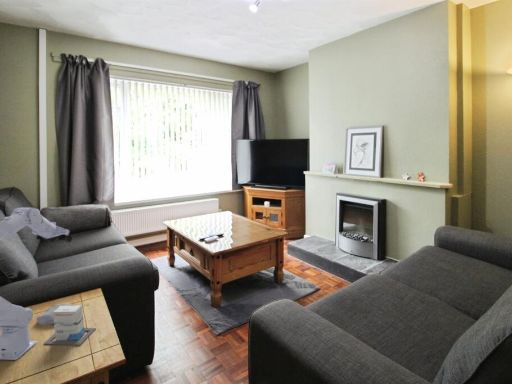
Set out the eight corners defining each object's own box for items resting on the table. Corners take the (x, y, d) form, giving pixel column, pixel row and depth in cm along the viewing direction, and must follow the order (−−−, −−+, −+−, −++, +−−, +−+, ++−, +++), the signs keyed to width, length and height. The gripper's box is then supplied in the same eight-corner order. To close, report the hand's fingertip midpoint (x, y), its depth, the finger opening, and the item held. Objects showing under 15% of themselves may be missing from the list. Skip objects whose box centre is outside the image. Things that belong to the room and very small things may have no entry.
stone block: (35, 329, 123) (58, 324, 123) (32, 318, 123) (55, 313, 122) (55, 314, 135) (76, 310, 135) (52, 304, 135) (73, 300, 134)
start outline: (80, 345, 110) (80, 344, 110) (43, 344, 111) (43, 343, 111) (95, 329, 120) (95, 328, 120) (62, 328, 120) (61, 327, 120)
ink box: (85, 332, 118) (82, 304, 116) (78, 340, 113) (75, 311, 111) (63, 332, 118) (60, 305, 116) (55, 341, 113) (52, 312, 111)
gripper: (63, 217, 121) (81, 231, 132) (29, 216, 122) (50, 231, 133) (56, 233, 117) (75, 246, 128) (21, 232, 118) (43, 246, 129)
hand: (62, 239), depth 130 cm, fingers open, 7 cm apart
